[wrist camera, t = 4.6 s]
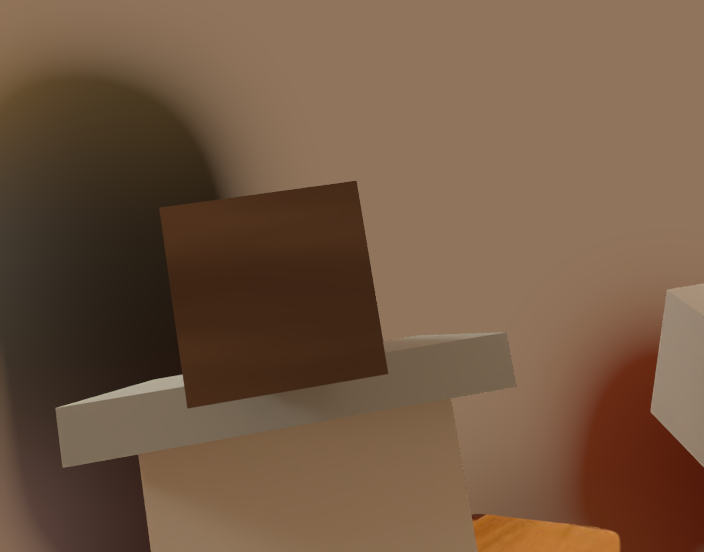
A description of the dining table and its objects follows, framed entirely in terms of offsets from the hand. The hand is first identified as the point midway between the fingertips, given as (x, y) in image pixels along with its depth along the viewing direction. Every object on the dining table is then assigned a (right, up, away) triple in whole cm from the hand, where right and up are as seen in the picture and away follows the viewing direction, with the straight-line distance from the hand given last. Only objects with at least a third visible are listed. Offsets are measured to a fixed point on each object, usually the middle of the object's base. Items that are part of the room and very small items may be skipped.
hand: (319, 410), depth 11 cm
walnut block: (-2, -1, +15) cm, 15 cm away
